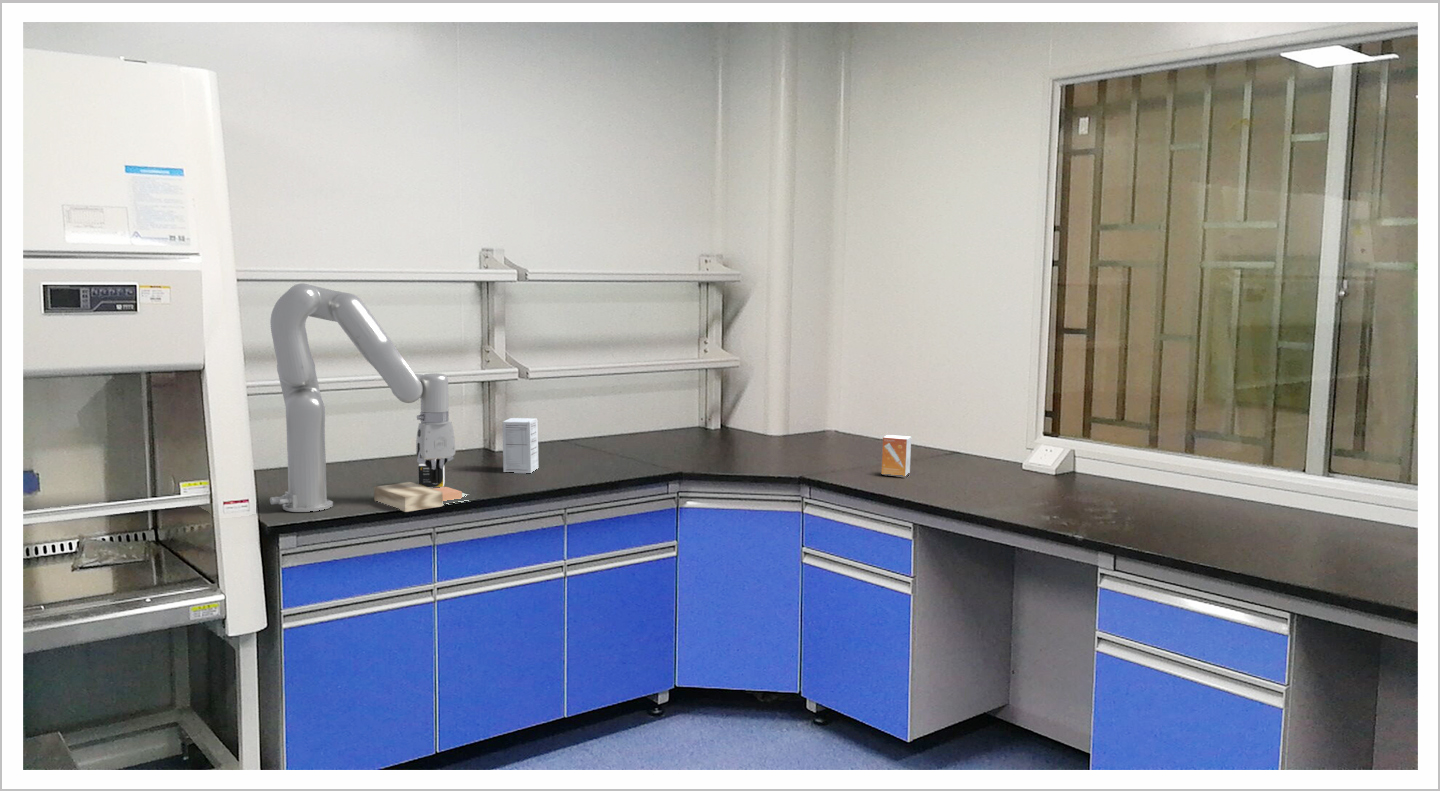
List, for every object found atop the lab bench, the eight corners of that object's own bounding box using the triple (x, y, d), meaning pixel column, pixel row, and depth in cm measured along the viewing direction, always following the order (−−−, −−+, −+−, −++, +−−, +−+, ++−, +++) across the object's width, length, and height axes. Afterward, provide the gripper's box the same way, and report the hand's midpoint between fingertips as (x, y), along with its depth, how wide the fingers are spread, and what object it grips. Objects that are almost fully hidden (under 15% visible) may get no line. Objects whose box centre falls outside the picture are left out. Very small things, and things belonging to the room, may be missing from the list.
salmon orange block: (442, 494, 297) (442, 501, 297) (461, 491, 301) (462, 498, 301) (427, 489, 303) (427, 496, 303) (446, 486, 307) (446, 493, 307)
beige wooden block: (405, 511, 285) (405, 497, 284) (374, 500, 298) (374, 486, 297) (442, 506, 292) (442, 491, 292) (410, 495, 305) (410, 481, 305)
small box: (881, 476, 346) (882, 436, 345) (885, 473, 352) (887, 434, 350) (905, 478, 343) (907, 438, 341) (910, 475, 349) (911, 436, 347)
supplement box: (539, 468, 350) (539, 418, 348) (531, 474, 341) (531, 421, 339) (510, 468, 351) (510, 417, 349) (502, 473, 342) (501, 421, 340)
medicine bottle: (418, 488, 315) (417, 448, 314) (420, 483, 322) (419, 444, 321) (443, 488, 317) (442, 448, 315) (444, 483, 324) (444, 444, 322)
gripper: (416, 421, 290) (417, 487, 292) (465, 417, 301) (466, 481, 303) (403, 418, 296) (404, 483, 298) (451, 414, 306) (452, 477, 308)
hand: (435, 482), depth 300 cm, fingers closed
